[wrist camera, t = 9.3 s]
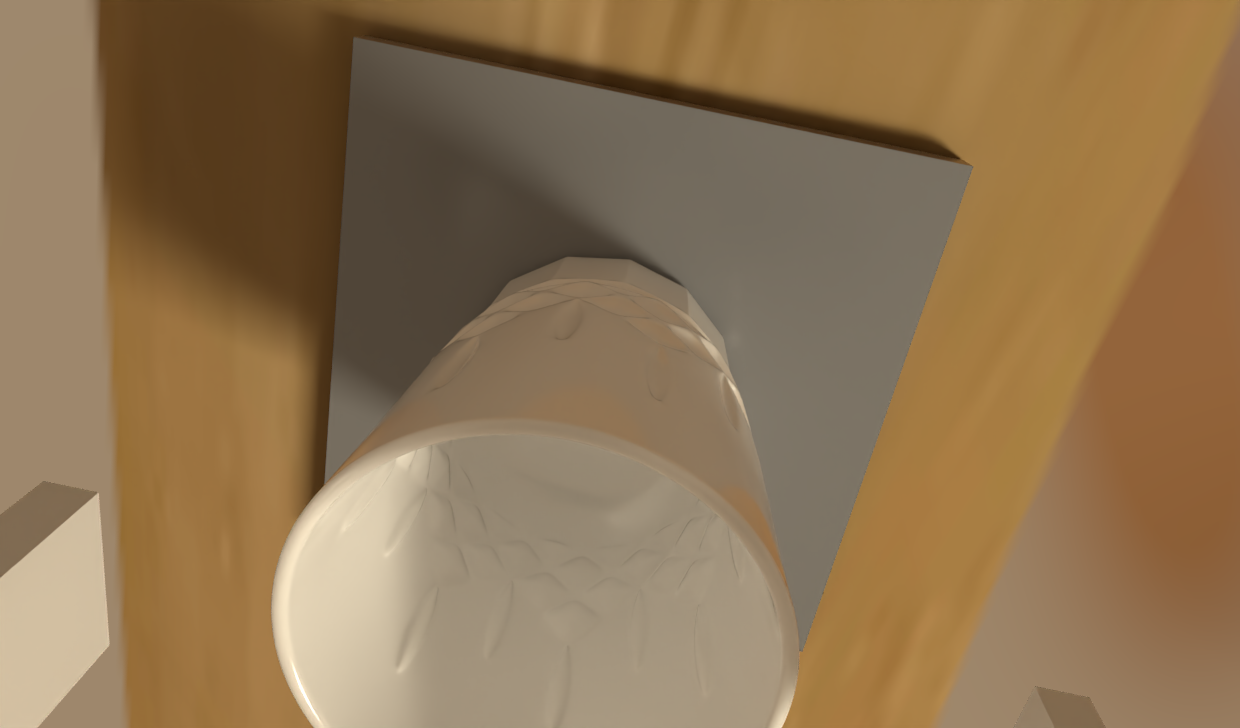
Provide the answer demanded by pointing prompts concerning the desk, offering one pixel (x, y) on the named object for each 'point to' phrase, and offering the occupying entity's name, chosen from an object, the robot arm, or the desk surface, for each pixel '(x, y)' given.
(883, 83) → the desk surface
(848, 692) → the desk surface
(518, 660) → the white cup
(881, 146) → the coaster
